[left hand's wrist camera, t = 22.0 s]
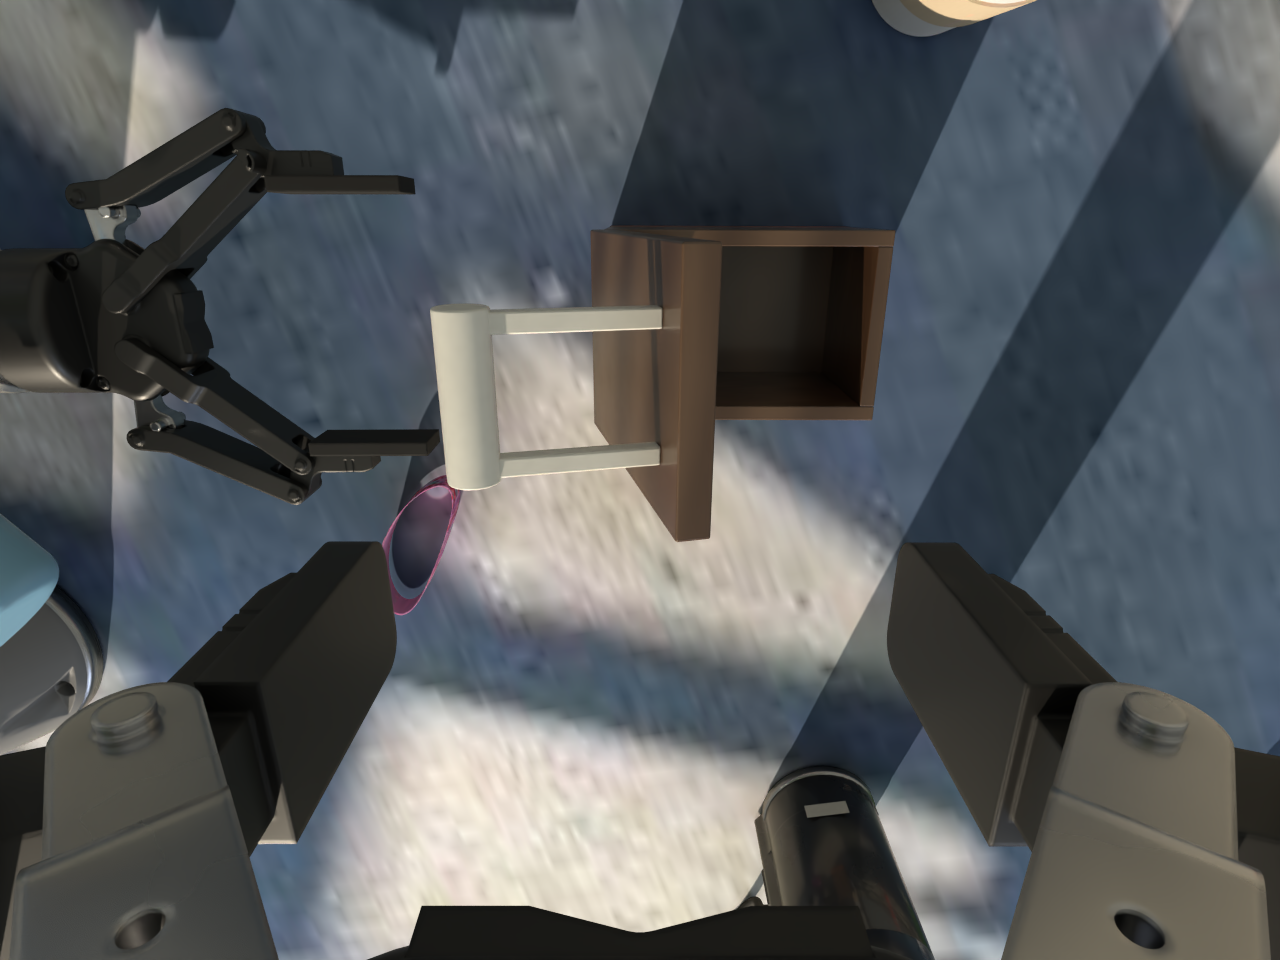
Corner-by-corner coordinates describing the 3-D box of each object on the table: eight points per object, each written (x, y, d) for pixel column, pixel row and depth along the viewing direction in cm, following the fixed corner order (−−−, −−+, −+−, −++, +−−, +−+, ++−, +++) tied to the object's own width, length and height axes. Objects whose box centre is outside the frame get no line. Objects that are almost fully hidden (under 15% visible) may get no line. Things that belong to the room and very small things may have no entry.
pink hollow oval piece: (415, 460, 49) (406, 471, 47) (469, 481, 50) (462, 493, 48) (372, 587, 53) (361, 603, 51) (423, 605, 53) (415, 621, 51)
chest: (844, 226, 44) (896, 230, 35) (829, 381, 47) (872, 420, 38) (611, 225, 44) (603, 229, 35) (612, 380, 47) (606, 419, 38)
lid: (723, 241, 21) (420, 243, 19) (710, 539, 24) (453, 567, 22) (615, 229, 35) (432, 229, 33) (617, 422, 38) (451, 433, 36)
